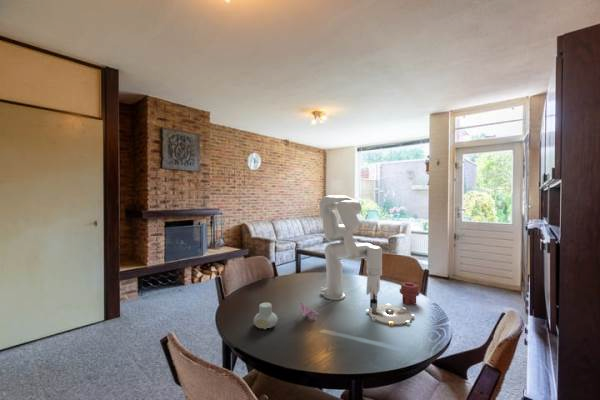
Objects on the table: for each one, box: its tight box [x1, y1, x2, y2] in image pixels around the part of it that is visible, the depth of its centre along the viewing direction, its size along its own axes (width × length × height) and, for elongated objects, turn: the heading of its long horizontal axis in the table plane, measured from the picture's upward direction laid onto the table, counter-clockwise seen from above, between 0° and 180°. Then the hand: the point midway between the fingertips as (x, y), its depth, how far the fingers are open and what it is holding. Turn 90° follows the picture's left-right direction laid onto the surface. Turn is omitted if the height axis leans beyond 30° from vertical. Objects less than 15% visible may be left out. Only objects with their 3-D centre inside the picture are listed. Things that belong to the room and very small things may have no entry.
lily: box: [296, 299, 319, 323], centre depth 133 cm, size 12×12×10 cm
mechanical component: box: [399, 281, 420, 306], centre depth 151 cm, size 12×10×10 cm
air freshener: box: [253, 302, 278, 330], centre depth 127 cm, size 11×8×10 cm
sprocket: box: [365, 302, 415, 327], centre depth 135 cm, size 22×22×6 cm
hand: (373, 307), depth 138 cm, fingers closed
